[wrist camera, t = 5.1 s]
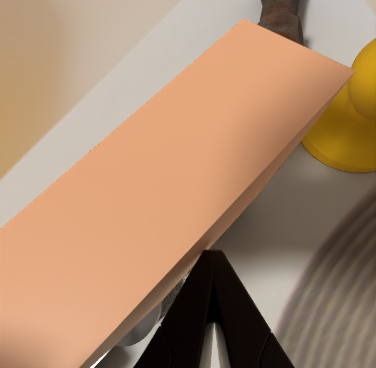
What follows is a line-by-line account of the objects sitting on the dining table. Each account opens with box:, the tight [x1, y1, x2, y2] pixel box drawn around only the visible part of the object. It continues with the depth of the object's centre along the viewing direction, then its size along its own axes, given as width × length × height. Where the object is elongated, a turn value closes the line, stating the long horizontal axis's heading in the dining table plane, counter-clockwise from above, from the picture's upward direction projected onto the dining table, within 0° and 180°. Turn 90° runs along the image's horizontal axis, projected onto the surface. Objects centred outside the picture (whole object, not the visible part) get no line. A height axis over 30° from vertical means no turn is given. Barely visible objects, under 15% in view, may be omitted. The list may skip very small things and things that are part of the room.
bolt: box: [257, 0, 303, 46], centre depth 18 cm, size 6×5×15 cm
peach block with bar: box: [0, 18, 356, 368], centre depth 8 cm, size 4×22×11 cm, turn 135°
